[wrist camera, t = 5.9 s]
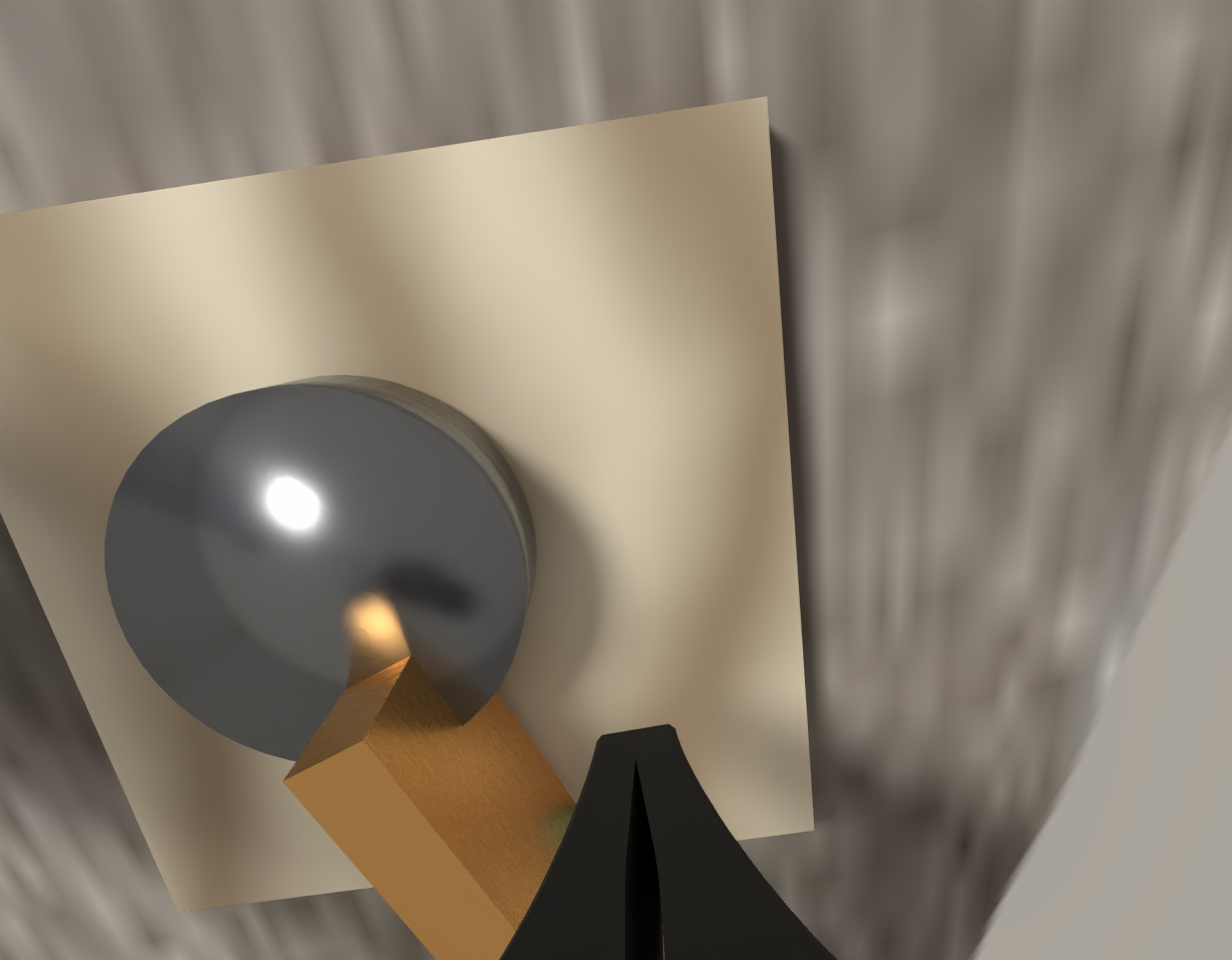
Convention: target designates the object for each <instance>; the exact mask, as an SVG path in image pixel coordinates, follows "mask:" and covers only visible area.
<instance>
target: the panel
mask: <svg viewBox="0 0 1232 960" xmlns="http://www.w3.org/2000/svg"><path fill="white" fill-rule="evenodd" d="M327 375H354V376H367V377H373V378H378V379H382V380H387V381H392V382H396V383H398V384H401V385H404V386H407V387H410V388H413V389H416V390H418V391H420V392H423V393H425V394H427V395H429V396H431V397H433V398H435V399H437V400H439V401H441V402H442V403H444V404H445V405H447V406H449V407H450V408H452V409H453V410H455V411H456V412H458V413H459V414H461V415H462V416H463V417H465V418H466V419H467V420H468V421H469V422H471V423H472V424H473V425H474V426H475V427H476V428H478V429H479V430H480V431H481V432H482V433H483V434H484V435H485V436H486V437H487V438H488V440H489V441H490V442H491V443H492V444H493V445H494V446H495V447H496V448H497V449H498V451H499V452H500V453H501V455H502V456H503V458H504V459H505V460H506V462H507V463H508V465H509V466H510V467H511V469H512V471H513V473H514V475H515V476H516V478H517V480H518V482H519V484H520V486H521V488H522V490H523V493H524V495H525V498H526V500H527V503H528V506H529V508H530V512H531V516H532V520H533V525H534V529H535V537H536V548H537V559H536V575H535V580H534V585H533V590H532V595H531V598H530V602H529V606H528V610H527V614H526V618H525V622H524V626H523V629H522V633H521V637H520V641H519V644H518V647H517V650H516V653H515V656H514V658H513V661H512V664H511V666H510V668H509V670H508V672H507V674H506V675H505V677H504V679H503V681H502V683H501V685H500V686H499V688H498V689H497V690H496V691H497V693H498V694H499V695H500V697H501V698H502V700H503V701H504V703H505V704H506V705H507V707H508V708H509V710H510V711H511V712H512V714H513V715H514V717H515V718H516V719H517V721H518V722H519V724H520V725H521V727H522V728H523V729H524V731H525V732H526V734H527V735H528V736H529V738H530V739H531V741H532V742H533V744H534V745H535V746H536V748H537V749H538V751H539V752H540V753H541V755H542V756H543V758H544V759H545V760H546V762H547V763H548V765H549V766H550V768H551V769H552V770H553V772H554V773H555V775H556V776H557V777H558V779H559V780H560V782H561V783H562V785H563V786H564V787H565V789H566V790H567V792H568V793H569V794H570V796H571V797H572V799H573V800H574V802H575V803H576V804H577V802H578V799H579V797H580V794H581V791H582V788H583V786H584V783H585V780H586V777H587V774H588V771H589V768H590V765H591V761H592V758H593V754H594V751H595V746H596V742H597V740H598V739H599V738H600V737H601V735H604V734H610V733H616V732H622V731H628V730H634V729H640V728H646V727H652V726H658V725H664V724H670V725H671V726H673V727H674V728H676V732H677V736H678V739H679V741H680V744H681V747H682V749H683V751H684V754H685V756H686V758H687V760H688V762H689V764H690V766H691V768H692V770H693V772H694V774H695V776H696V778H697V779H698V781H699V783H700V785H701V786H702V788H703V790H704V792H705V793H706V795H707V796H708V798H709V800H710V801H711V803H712V804H713V806H714V808H715V809H716V811H717V813H718V814H719V816H720V817H721V819H722V820H723V822H724V823H725V825H726V826H727V828H728V829H729V831H730V832H731V834H732V835H733V836H734V838H735V839H736V841H737V840H745V839H753V838H761V837H768V836H776V835H784V834H792V833H800V832H807V831H814V816H813V801H812V785H811V770H810V754H809V739H808V723H807V708H806V692H805V677H804V662H803V646H802V631H801V615H800V600H799V584H798V569H797V553H796V538H795V523H794V507H793V492H792V476H791V461H790V445H789V430H788V414H787V399H786V383H785V368H784V353H783V337H782V322H781V306H780V291H779V275H778V260H777V244H776V229H775V214H774V198H773V183H772V167H771V152H770V136H769V121H768V105H767V97H760V98H754V99H747V100H741V101H734V102H728V103H721V104H715V105H708V106H702V107H695V108H689V109H682V110H676V111H669V112H663V113H656V114H650V115H643V116H637V117H630V118H624V119H617V120H611V121H604V122H598V123H591V124H585V125H578V126H572V127H565V128H559V129H552V130H546V131H539V132H533V133H526V134H520V135H513V136H507V137H500V138H494V139H487V140H481V141H474V142H468V143H461V144H455V145H448V146H442V147H435V148H429V149H422V150H416V151H409V152H403V153H396V154H390V155H383V156H377V157H370V158H364V159H357V160H351V161H344V162H338V163H331V164H325V165H318V166H312V167H305V168H299V169H292V170H286V171H279V172H273V173H266V174H260V175H253V176H247V177H240V178H234V179H227V180H221V181H214V182H208V183H201V184H195V185H188V186H182V187H175V188H169V189H162V190H156V191H149V192H143V193H136V194H130V195H123V196H117V197H110V198H104V199H97V200H91V201H84V202H78V203H71V204H65V205H58V206H52V207H45V208H39V209H32V210H26V211H19V212H13V213H6V214H0V513H1V515H2V517H3V520H4V522H5V524H6V526H7V529H8V531H9V533H10V535H11V538H12V540H13V542H14V544H15V547H16V549H17V551H18V553H19V556H20V558H21V560H22V562H23V565H24V567H25V569H26V571H27V574H28V576H29V578H30V581H31V583H32V585H33V587H34V590H35V592H36V594H37V596H38V599H39V601H40V603H41V605H42V608H43V610H44V612H45V614H46V617H47V619H48V621H49V623H50V626H51V628H52V630H53V632H54V635H55V637H56V639H57V641H58V644H59V646H60V648H61V650H62V653H63V655H64V657H65V659H66V662H67V664H68V666H69V668H70V671H71V673H72V675H73V677H74V680H75V682H76V684H77V686H78V689H79V691H80V693H81V695H82V698H83V700H84V702H85V704H86V707H87V709H88V711H89V713H90V716H91V718H92V720H93V722H94V725H95V727H96V729H97V731H98V734H99V736H100V738H101V740H102V743H103V745H104V747H105V750H106V752H107V754H108V756H109V759H110V761H111V763H112V765H113V768H114V770H115V772H116V774H117V777H118V779H119V781H120V783H121V786H122V788H123V790H124V792H125V795H126V797H127V799H128V801H129V804H130V806H131V808H132V810H133V813H134V815H135V817H136V819H137V822H138V824H139V826H140V828H141V831H142V833H143V835H144V837H145V840H146V842H147V844H148V846H149V849H150V851H151V853H152V855H153V858H154V860H155V862H156V864H157V867H158V869H159V871H160V873H161V876H162V878H163V880H164V882H165V885H166V887H167V889H168V891H169V894H170V896H171V898H172V900H173V903H174V905H175V907H176V909H177V912H186V911H194V910H201V909H209V908H217V907H225V906H232V905H240V904H248V903H256V902H263V901H271V900H279V899H287V898H295V897H302V896H310V895H318V894H326V893H333V892H341V891H349V890H357V889H364V888H372V887H373V886H372V885H371V883H370V882H369V881H368V880H367V879H366V878H365V877H364V875H363V874H362V873H361V872H360V871H359V870H358V868H357V867H356V866H355V865H354V864H353V863H352V862H351V860H350V859H349V858H348V857H347V856H346V855H345V853H344V852H343V851H342V850H341V849H340V848H339V846H338V845H337V844H336V843H335V842H334V841H333V840H332V838H331V837H330V836H329V835H328V834H327V833H326V831H325V830H324V829H323V828H322V827H321V826H320V824H319V823H318V822H317V821H316V820H315V819H314V818H313V816H312V815H311V814H310V813H309V812H308V811H307V809H306V808H305V807H304V806H303V805H302V804H301V803H300V801H299V800H298V799H297V798H296V797H295V796H294V794H293V793H292V792H291V791H290V790H289V789H288V787H287V786H286V785H285V784H284V783H283V780H284V779H285V777H286V776H287V774H288V773H289V771H290V770H291V768H292V767H293V766H294V764H295V763H296V761H290V760H286V759H283V758H279V757H275V756H272V755H268V754H264V753H262V752H259V751H257V750H254V749H251V748H249V747H246V746H244V745H241V744H239V743H237V742H235V741H233V740H231V739H229V738H227V737H225V736H223V735H221V734H219V733H217V732H216V731H214V730H213V729H211V728H210V727H208V726H207V725H205V724H203V723H202V722H200V721H199V720H197V719H196V718H194V717H193V716H192V715H191V714H189V713H188V712H187V711H186V710H185V709H183V708H182V707H181V706H180V705H178V704H177V703H176V702H175V701H174V700H173V699H172V698H171V697H170V696H169V695H168V694H167V693H166V692H165V691H164V690H163V689H162V688H161V687H160V686H159V685H158V684H157V683H156V682H155V681H154V679H153V678H152V677H151V676H150V674H149V673H148V672H147V671H146V669H145V668H144V667H143V665H142V664H141V663H140V661H139V660H138V658H137V657H136V655H135V653H134V652H133V650H132V648H131V647H130V645H129V643H128V642H127V640H126V638H125V636H124V634H123V631H122V629H121V627H120V625H119V622H118V620H117V618H116V615H115V612H114V609H113V605H112V602H111V599H110V596H109V592H108V586H107V579H106V573H105V551H104V542H105V535H106V528H107V521H108V516H109V513H110V509H111V506H112V503H113V500H114V497H115V493H116V491H117V489H118V487H119V485H120V483H121V481H122V479H123V477H124V475H125V473H126V471H127V470H128V468H129V467H130V466H131V464H132V463H133V462H134V460H135V459H136V457H137V456H138V455H139V453H140V452H141V450H142V449H143V448H144V447H145V446H146V445H147V444H148V443H149V442H150V441H151V440H152V439H153V438H154V437H155V436H156V435H157V434H158V433H159V432H160V431H162V430H163V429H165V428H166V427H167V426H169V425H170V424H172V423H173V422H174V421H176V420H177V419H178V418H180V417H181V416H183V415H185V414H187V413H189V412H191V411H193V410H195V409H197V408H198V407H200V406H202V405H204V404H206V403H209V402H212V401H215V400H218V399H221V398H224V397H227V396H230V395H233V394H237V393H241V392H246V391H250V390H255V389H259V388H263V387H268V386H272V385H277V384H281V383H286V382H290V381H295V380H300V379H305V378H311V377H316V376H327Z"/></svg>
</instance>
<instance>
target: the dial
mask: <svg viewBox="0 0 1232 960" xmlns="http://www.w3.org/2000/svg"><path fill="white" fill-rule="evenodd" d="M104 551H105V573H106V579H107V586H108V592H109V596H110V599H111V602H112V605H113V609H114V612H115V615H116V618H117V620H118V622H119V625H120V627H121V629H122V631H123V634H124V636H125V638H126V640H127V642H128V643H129V645H130V647H131V648H132V650H133V652H134V653H135V655H136V657H137V658H138V660H139V661H140V663H141V664H142V665H143V667H144V668H145V669H146V671H147V672H148V673H149V674H150V676H151V677H152V678H153V679H154V681H155V682H156V683H157V684H158V685H159V686H160V687H161V688H162V689H163V690H164V691H165V692H166V693H167V694H168V695H169V696H170V697H171V698H172V699H173V700H174V701H175V702H176V703H177V704H178V705H180V706H181V707H182V708H183V709H185V710H186V711H187V712H188V713H189V714H191V715H192V716H193V717H194V718H196V719H197V720H199V721H200V722H202V723H203V724H205V725H207V726H208V727H210V728H211V729H213V730H214V731H216V732H217V733H219V734H221V735H223V736H225V737H227V738H229V739H231V740H233V741H235V742H237V743H239V744H241V745H244V746H246V747H249V748H251V749H254V750H257V751H259V752H262V753H264V754H268V755H272V756H275V757H279V758H283V759H286V760H290V761H296V763H295V764H294V766H293V767H292V768H291V770H290V771H289V773H288V774H287V776H286V777H285V779H284V780H283V783H284V784H285V785H286V786H287V787H288V789H289V790H290V791H291V792H292V793H293V794H294V796H295V797H296V798H297V799H298V800H299V801H300V803H301V804H302V805H303V806H304V807H305V808H306V809H307V811H308V812H309V813H310V814H311V815H312V816H313V818H314V819H315V820H316V821H317V822H318V823H319V824H320V826H321V827H322V828H323V829H324V830H325V831H326V833H327V834H328V835H329V836H330V837H331V838H332V840H333V841H334V842H335V843H336V844H337V845H338V846H339V848H340V849H341V850H342V851H343V852H344V853H345V855H346V856H347V857H348V858H349V859H350V860H351V862H352V863H353V864H354V865H355V866H356V867H357V868H358V870H359V871H360V872H361V873H362V874H363V875H364V877H365V878H366V879H367V880H368V881H369V882H370V883H371V885H372V886H373V887H374V888H375V889H376V890H377V892H378V893H379V894H380V895H381V896H382V897H383V899H384V900H385V901H386V902H387V903H388V904H389V905H390V907H391V908H392V909H393V910H394V911H395V912H396V914H397V915H398V916H399V917H400V918H401V919H402V920H403V922H404V923H405V924H406V925H407V926H408V927H409V929H410V930H411V931H412V932H413V933H414V934H415V936H416V937H417V938H418V939H419V940H420V941H421V942H422V944H423V945H424V946H425V947H426V948H427V949H428V951H429V952H430V953H431V954H432V955H433V956H434V957H435V959H436V960H499V959H500V957H501V956H502V954H503V953H504V951H505V949H506V948H507V946H508V944H509V943H510V941H511V939H512V937H513V936H514V934H515V932H516V930H517V929H518V927H519V925H520V923H521V921H522V920H523V918H524V916H525V914H526V912H527V911H528V909H529V907H530V905H531V903H532V901H533V899H534V897H535V895H536V893H537V892H538V890H539V888H540V886H541V884H542V882H543V879H544V877H545V875H546V873H547V871H548V869H549V867H550V865H551V862H552V860H553V858H554V856H555V854H556V852H557V850H558V848H559V845H560V843H561V841H562V839H563V836H564V834H565V832H566V829H567V827H568V824H569V822H570V819H571V817H572V814H573V812H574V809H575V807H576V803H575V802H574V800H573V799H572V797H571V796H570V794H569V793H568V792H567V790H566V789H565V787H564V786H563V785H562V783H561V782H560V780H559V779H558V777H557V776H556V775H555V773H554V772H553V770H552V769H551V768H550V766H549V765H548V763H547V762H546V760H545V759H544V758H543V756H542V755H541V753H540V752H539V751H538V749H537V748H536V746H535V745H534V744H533V742H532V741H531V739H530V738H529V736H528V735H527V734H526V732H525V731H524V729H523V728H522V727H521V725H520V724H519V722H518V721H517V719H516V718H515V717H514V715H513V714H512V712H511V711H510V710H509V708H508V707H507V705H506V704H505V703H504V701H503V700H502V698H501V697H500V695H499V694H498V693H497V691H496V690H497V689H498V688H499V686H500V685H501V683H502V681H503V679H504V677H505V675H506V674H507V672H508V670H509V668H510V666H511V664H512V661H513V658H514V656H515V653H516V650H517V647H518V644H519V641H520V637H521V633H522V629H523V626H524V622H525V618H526V614H527V610H528V606H529V602H530V598H531V595H532V590H533V585H534V580H535V575H536V559H537V548H536V537H535V529H534V525H533V520H532V516H531V512H530V508H529V506H528V503H527V500H526V498H525V495H524V493H523V490H522V488H521V486H520V484H519V482H518V480H517V478H516V476H515V475H514V473H513V471H512V469H511V467H510V466H509V465H508V463H507V462H506V460H505V459H504V458H503V456H502V455H501V453H500V452H499V451H498V449H497V448H496V447H495V446H494V445H493V444H492V443H491V442H490V441H489V440H488V438H487V437H486V436H485V435H484V434H483V433H482V432H481V431H480V430H479V429H478V428H476V427H475V426H474V425H473V424H472V423H471V422H469V421H468V420H467V419H466V418H465V417H463V416H462V415H461V414H459V413H458V412H456V411H455V410H453V409H452V408H450V407H449V406H447V405H445V404H444V403H442V402H441V401H439V400H437V399H435V398H433V397H431V396H429V395H427V394H425V393H423V392H420V391H418V390H416V389H413V388H410V387H407V386H404V385H401V384H398V383H396V382H392V381H387V380H382V379H378V378H373V377H367V376H354V375H327V376H316V377H311V378H305V379H300V380H295V381H290V382H286V383H281V384H277V385H272V386H268V387H263V388H259V389H255V390H250V391H246V392H241V393H237V394H233V395H230V396H227V397H224V398H221V399H218V400H215V401H212V402H209V403H206V404H204V405H202V406H200V407H198V408H197V409H195V410H193V411H191V412H189V413H187V414H185V415H183V416H181V417H180V418H178V419H177V420H176V421H174V422H173V423H172V424H170V425H169V426H167V427H166V428H165V429H163V430H162V431H160V432H159V433H158V434H157V435H156V436H155V437H154V438H153V439H152V440H151V441H150V442H149V443H148V444H147V445H146V446H145V447H144V448H143V449H142V450H141V452H140V453H139V455H138V456H137V457H136V459H135V460H134V462H133V463H132V464H131V466H130V467H129V468H128V470H127V471H126V473H125V475H124V477H123V479H122V481H121V483H120V485H119V487H118V489H117V491H116V493H115V497H114V500H113V503H112V506H111V509H110V513H109V516H108V521H107V528H106V535H105V542H104Z"/></svg>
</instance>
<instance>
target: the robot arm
mask: <svg viewBox="0 0 1232 960" xmlns="http://www.w3.org/2000/svg"><path fill="white" fill-rule="evenodd" d="M662 924H663V931H662ZM663 937H664V951H665V960H837V959H836V958H835V957H834V956H833V955H832V954H831V953H830V952H829V951H828V950H827V949H826V948H825V947H824V946H823V945H822V944H821V943H820V942H819V941H818V940H817V939H816V938H815V937H814V936H813V934H812V933H811V932H810V931H809V930H808V929H807V928H806V927H805V925H804V924H803V923H802V922H801V921H800V920H799V919H798V918H797V916H796V915H795V914H794V913H793V912H792V911H791V910H790V908H789V907H788V906H787V905H786V904H785V903H784V901H783V900H782V899H781V898H780V897H779V895H778V894H777V893H776V892H775V891H774V889H773V888H772V887H771V886H770V884H769V883H768V882H767V881H766V880H765V878H764V877H763V876H762V874H761V873H760V872H759V871H758V869H757V868H756V867H755V865H754V864H753V863H752V861H751V860H750V859H749V857H748V856H747V855H746V853H745V852H744V850H743V849H742V848H741V846H740V845H739V843H738V842H737V841H736V839H735V838H734V836H733V835H732V834H731V832H730V831H729V829H728V828H727V826H726V825H725V823H724V822H723V820H722V819H721V817H720V816H719V814H718V813H717V811H716V809H715V808H714V806H713V804H712V803H711V801H710V800H709V798H708V796H707V795H706V793H705V792H704V790H703V788H702V786H701V785H700V783H699V781H698V779H697V778H696V776H695V774H694V772H693V770H692V768H691V766H690V764H689V762H688V760H687V758H686V756H685V754H684V751H683V749H682V747H681V744H680V741H679V739H678V736H677V732H676V728H674V727H673V726H671V725H670V724H664V725H658V726H652V727H646V728H640V729H634V730H628V731H622V732H616V733H610V734H604V735H601V737H600V738H599V739H598V740H597V742H596V746H595V751H594V754H593V758H592V761H591V765H590V768H589V771H588V774H587V777H586V780H585V783H584V786H583V788H582V791H581V794H580V797H579V799H578V802H577V804H576V807H575V809H574V812H573V814H572V817H571V819H570V822H569V824H568V827H567V829H566V832H565V834H564V836H563V839H562V841H561V843H560V845H559V848H558V850H557V852H556V854H555V856H554V858H553V860H552V862H551V865H550V867H549V869H548V871H547V873H546V875H545V877H544V879H543V882H542V884H541V886H540V888H539V890H538V892H537V893H536V895H535V897H534V899H533V901H532V903H531V905H530V907H529V909H528V911H527V912H526V914H525V916H524V918H523V920H522V921H521V923H520V925H519V927H518V929H517V930H516V932H515V934H514V936H513V937H512V939H511V941H510V943H509V944H508V946H507V948H506V949H505V951H504V953H503V954H502V956H501V957H500V959H499V960H663Z"/></svg>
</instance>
